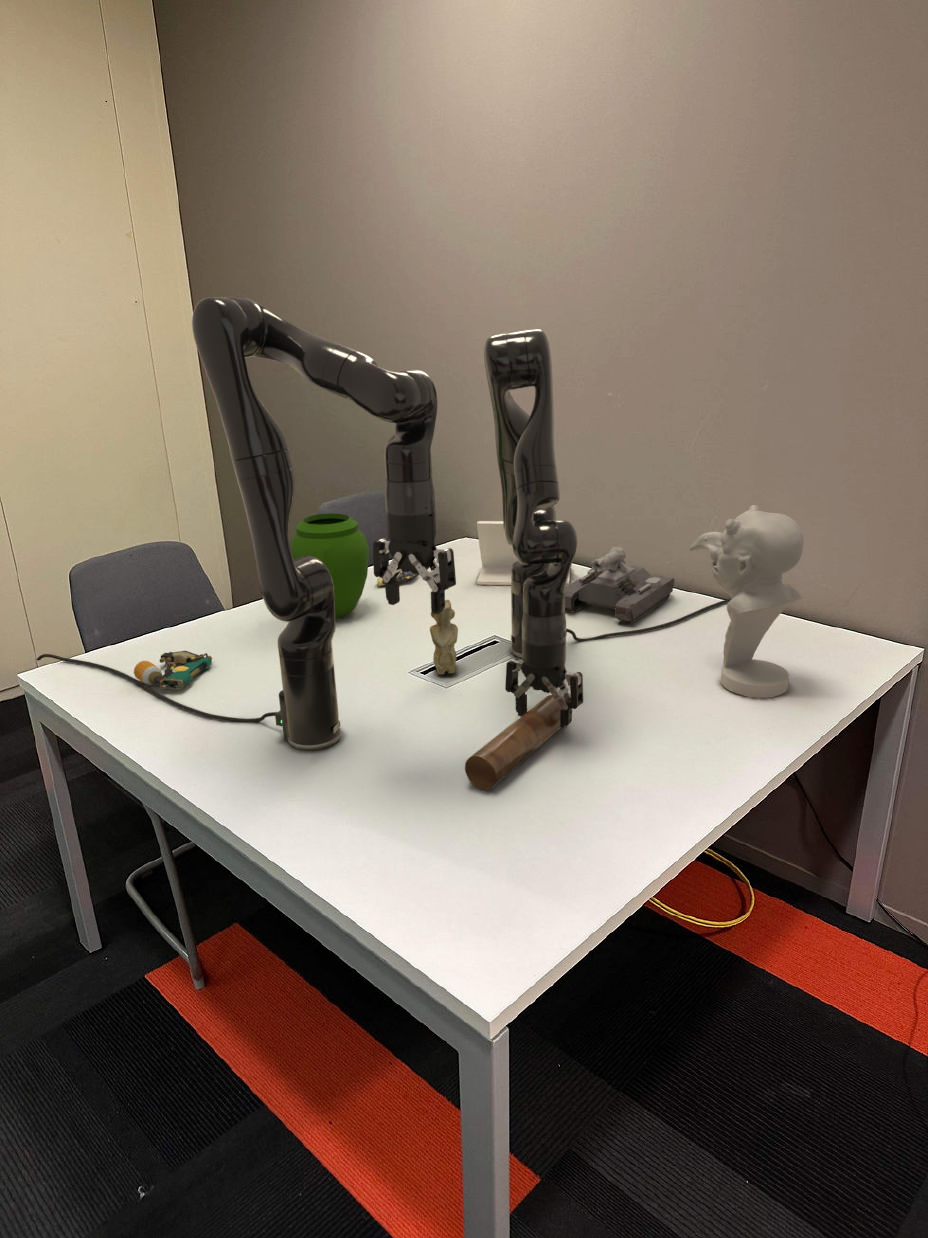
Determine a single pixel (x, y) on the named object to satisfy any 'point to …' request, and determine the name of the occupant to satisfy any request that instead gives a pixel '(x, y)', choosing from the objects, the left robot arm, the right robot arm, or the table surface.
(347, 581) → the vase
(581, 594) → the toy
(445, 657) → the sculpture
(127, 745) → the table surface
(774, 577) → the bust sculpture
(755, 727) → the table surface
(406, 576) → the toy gun
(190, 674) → the spray gun
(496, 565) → the tablet stand
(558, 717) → the rod
